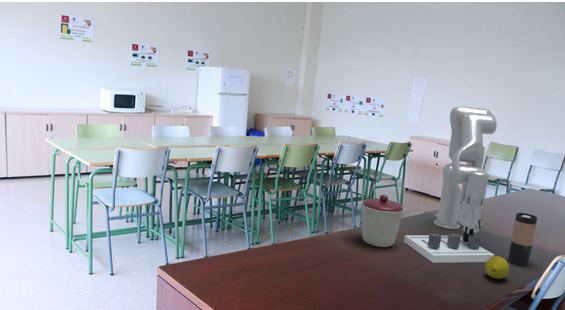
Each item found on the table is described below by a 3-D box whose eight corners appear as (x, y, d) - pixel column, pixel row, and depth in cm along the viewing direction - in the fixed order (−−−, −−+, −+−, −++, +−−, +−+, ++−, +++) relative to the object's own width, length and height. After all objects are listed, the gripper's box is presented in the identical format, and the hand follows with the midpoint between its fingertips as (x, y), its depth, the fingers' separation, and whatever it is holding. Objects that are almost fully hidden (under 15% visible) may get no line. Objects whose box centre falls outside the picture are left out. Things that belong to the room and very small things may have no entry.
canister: (367, 232, 204) (373, 187, 200) (405, 243, 194) (412, 196, 190) (348, 242, 189) (355, 193, 186) (389, 254, 179) (396, 203, 176)
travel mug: (526, 261, 187) (535, 214, 183) (530, 268, 179) (539, 219, 176) (506, 257, 189) (514, 211, 186) (508, 263, 182) (517, 216, 178)
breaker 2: (446, 245, 187) (448, 233, 186) (454, 245, 187) (456, 233, 187) (451, 248, 184) (453, 236, 183) (458, 248, 185) (460, 236, 184)
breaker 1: (427, 245, 184) (429, 233, 183) (435, 245, 185) (437, 233, 184) (431, 248, 181) (433, 236, 181) (439, 248, 182) (441, 236, 181)
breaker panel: (403, 242, 196) (404, 235, 195) (459, 242, 203) (460, 235, 203) (432, 262, 175) (433, 255, 174) (493, 261, 182) (494, 254, 182)
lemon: (489, 270, 172) (493, 250, 171) (511, 278, 167) (515, 258, 166) (477, 277, 165) (481, 256, 164) (499, 285, 160) (503, 264, 158)
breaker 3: (467, 246, 188) (469, 234, 187) (474, 246, 189) (476, 234, 188) (471, 248, 185) (473, 237, 184) (478, 248, 186) (481, 237, 185)
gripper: (455, 194, 194) (448, 235, 197) (478, 205, 179) (470, 249, 183) (470, 195, 195) (463, 235, 199) (494, 206, 181) (486, 248, 185)
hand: (466, 241), depth 191 cm, fingers closed
